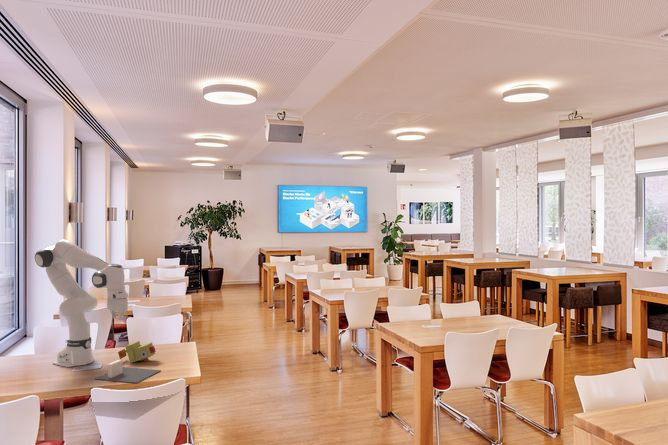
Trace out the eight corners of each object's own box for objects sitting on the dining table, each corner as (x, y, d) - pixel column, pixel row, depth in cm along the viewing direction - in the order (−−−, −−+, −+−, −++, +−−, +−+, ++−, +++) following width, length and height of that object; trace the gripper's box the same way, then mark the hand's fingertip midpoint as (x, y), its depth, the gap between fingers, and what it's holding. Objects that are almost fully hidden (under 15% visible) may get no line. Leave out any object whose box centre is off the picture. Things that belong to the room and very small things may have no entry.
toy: (121, 369, 283) (153, 360, 281) (115, 349, 283) (146, 340, 281) (129, 364, 293) (160, 355, 291) (123, 345, 293) (154, 336, 291)
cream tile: (108, 377, 257) (107, 364, 257) (118, 372, 265) (118, 359, 265) (111, 377, 256) (111, 364, 256) (122, 372, 264) (122, 360, 264)
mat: (94, 379, 256) (94, 378, 256) (121, 367, 275) (121, 366, 275) (136, 383, 249) (136, 382, 249) (160, 371, 268) (160, 370, 268)
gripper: (103, 293, 271) (104, 317, 271) (117, 296, 257) (118, 322, 257) (115, 291, 276) (116, 315, 276) (129, 294, 261) (130, 320, 261)
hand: (117, 319), depth 266 cm, fingers open, 8 cm apart
